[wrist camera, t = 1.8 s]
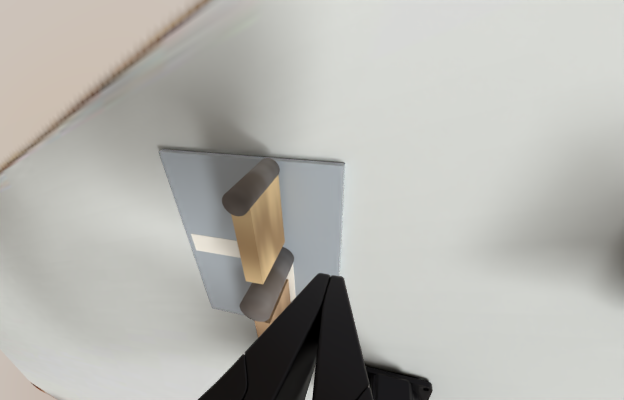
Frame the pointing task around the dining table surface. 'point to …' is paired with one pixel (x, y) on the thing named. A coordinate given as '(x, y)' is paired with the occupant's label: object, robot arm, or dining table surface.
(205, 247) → the card
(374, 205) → the dining table surface
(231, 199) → the fence panel
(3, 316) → the dining table surface
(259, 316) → the fixed fence
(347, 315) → the robot arm
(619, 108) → the dining table surface
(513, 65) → the dining table surface
